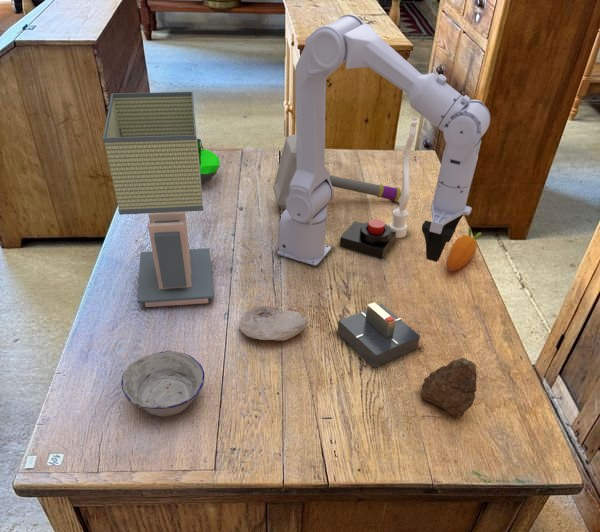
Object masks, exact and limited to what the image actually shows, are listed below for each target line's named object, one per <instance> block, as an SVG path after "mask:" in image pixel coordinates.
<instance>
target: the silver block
mask: <svg viewBox="0 0 600 532" xmlns="http://www.w3.org/2000/svg"><path fill="white" fill-rule="evenodd" d="M378 305H379V304H377V303H376V302H375V301H374V302H371V303H369V304H367V306H366V310H367V313H366V321H367V322H368V323H369V324H370V325H371V326H372V327H373V328H375V329H376V330H377V331H378V332H379V333H380V334H381V335H383V336H384V337H385V338H386V339H387V338H389V337H391V336H393V333H394V328H395V323H396V320H395V319H394V318H393V317H392V316H390V315H389V314H388V313H387V312H386V311H384V310H383V309H382V308H381V307H380V306H378Z"/></svg>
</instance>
